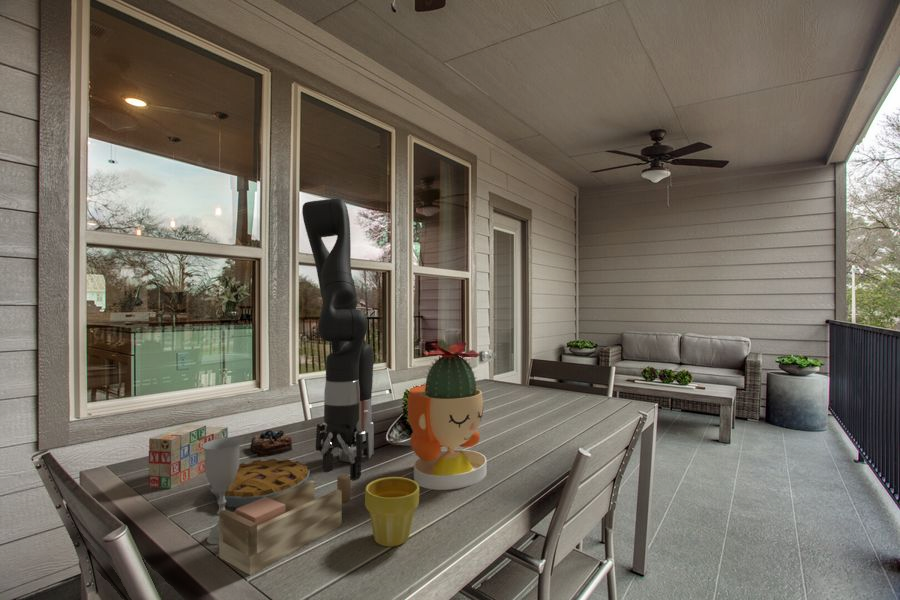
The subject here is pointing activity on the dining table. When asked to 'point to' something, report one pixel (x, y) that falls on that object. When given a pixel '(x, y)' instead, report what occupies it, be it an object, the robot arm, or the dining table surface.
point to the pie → (263, 481)
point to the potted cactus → (447, 422)
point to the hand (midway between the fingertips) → (341, 475)
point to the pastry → (271, 443)
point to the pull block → (271, 508)
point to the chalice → (221, 472)
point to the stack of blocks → (180, 454)
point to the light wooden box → (278, 528)
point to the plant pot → (391, 508)
